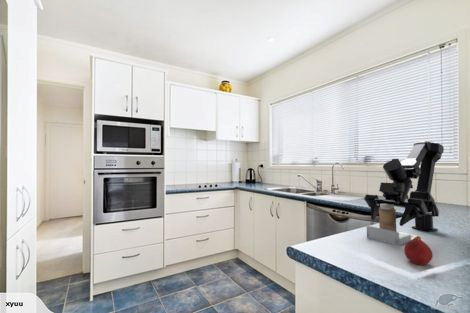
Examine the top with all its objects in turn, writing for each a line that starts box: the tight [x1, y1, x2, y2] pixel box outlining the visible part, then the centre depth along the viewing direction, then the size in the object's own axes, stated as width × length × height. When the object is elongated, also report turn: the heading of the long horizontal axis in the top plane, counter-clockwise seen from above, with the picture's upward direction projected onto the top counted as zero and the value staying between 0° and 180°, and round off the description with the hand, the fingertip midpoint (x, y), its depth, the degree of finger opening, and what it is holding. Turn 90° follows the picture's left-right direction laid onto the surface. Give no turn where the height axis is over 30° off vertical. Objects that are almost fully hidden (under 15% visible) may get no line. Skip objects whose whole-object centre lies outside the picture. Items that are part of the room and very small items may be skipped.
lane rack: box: [366, 225, 417, 246], centre depth 82 cm, size 17×10×5 cm, turn 121°
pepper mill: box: [378, 204, 398, 232], centre depth 80 cm, size 5×5×12 cm
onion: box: [403, 235, 434, 266], centre depth 60 cm, size 6×6×8 cm
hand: (385, 222), depth 80 cm, fingers open, 9 cm apart
